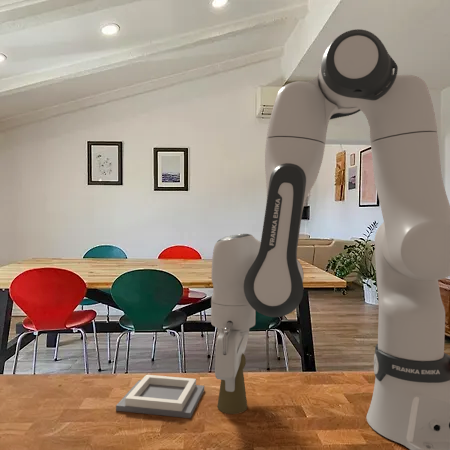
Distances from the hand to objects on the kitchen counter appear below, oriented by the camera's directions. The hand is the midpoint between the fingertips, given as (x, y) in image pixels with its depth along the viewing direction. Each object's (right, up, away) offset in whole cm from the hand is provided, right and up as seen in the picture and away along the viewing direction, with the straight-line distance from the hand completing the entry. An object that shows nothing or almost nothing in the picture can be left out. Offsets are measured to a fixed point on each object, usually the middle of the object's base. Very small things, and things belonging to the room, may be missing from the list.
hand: (232, 383), depth 81 cm
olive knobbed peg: (0, -5, 0) cm, 5 cm away
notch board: (-14, -4, +3) cm, 15 cm away
